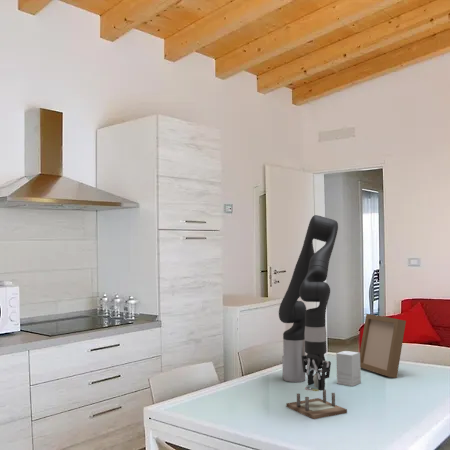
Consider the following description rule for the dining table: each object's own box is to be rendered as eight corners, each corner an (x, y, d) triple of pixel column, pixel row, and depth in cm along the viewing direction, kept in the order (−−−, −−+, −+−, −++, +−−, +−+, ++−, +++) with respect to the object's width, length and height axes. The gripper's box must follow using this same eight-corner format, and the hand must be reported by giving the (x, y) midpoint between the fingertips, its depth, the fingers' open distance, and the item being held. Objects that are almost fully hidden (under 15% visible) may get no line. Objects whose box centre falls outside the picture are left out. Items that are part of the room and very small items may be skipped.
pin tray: (286, 406, 195) (286, 390, 195) (318, 401, 201) (318, 385, 201) (313, 419, 180) (313, 402, 181) (347, 413, 187) (346, 396, 187)
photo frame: (388, 379, 234) (387, 319, 235) (357, 368, 254) (356, 314, 255) (416, 375, 240) (414, 317, 241) (383, 365, 260) (382, 312, 261)
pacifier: (300, 390, 191) (314, 393, 187) (300, 372, 191) (314, 374, 187) (313, 386, 196) (327, 389, 192) (312, 369, 196) (326, 371, 192)
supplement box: (361, 383, 227) (360, 352, 227) (352, 386, 222) (351, 355, 222) (345, 380, 232) (345, 350, 232) (336, 383, 227) (335, 352, 227)
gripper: (337, 341, 187) (338, 391, 186) (311, 335, 200) (312, 382, 199) (319, 343, 184) (320, 394, 183) (294, 337, 196) (295, 385, 196)
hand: (316, 387), depth 191 cm, fingers closed on pacifier, 5 cm apart
